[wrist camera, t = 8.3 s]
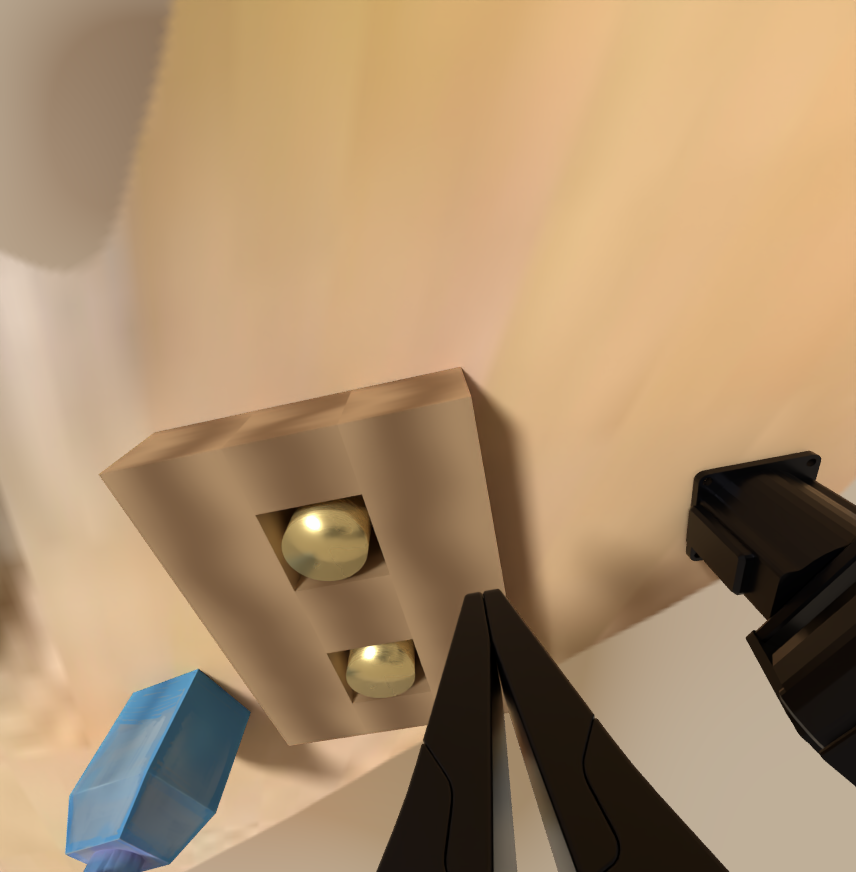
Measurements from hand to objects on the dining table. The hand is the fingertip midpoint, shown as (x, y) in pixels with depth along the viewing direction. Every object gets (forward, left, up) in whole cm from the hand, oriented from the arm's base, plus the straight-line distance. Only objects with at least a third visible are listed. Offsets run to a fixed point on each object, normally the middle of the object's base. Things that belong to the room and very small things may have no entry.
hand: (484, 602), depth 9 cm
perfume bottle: (+24, +20, -12) cm, 34 cm away
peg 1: (+7, +4, -12) cm, 14 cm away
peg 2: (+7, +14, -12) cm, 20 cm away
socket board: (+7, +9, -12) cm, 17 cm away
